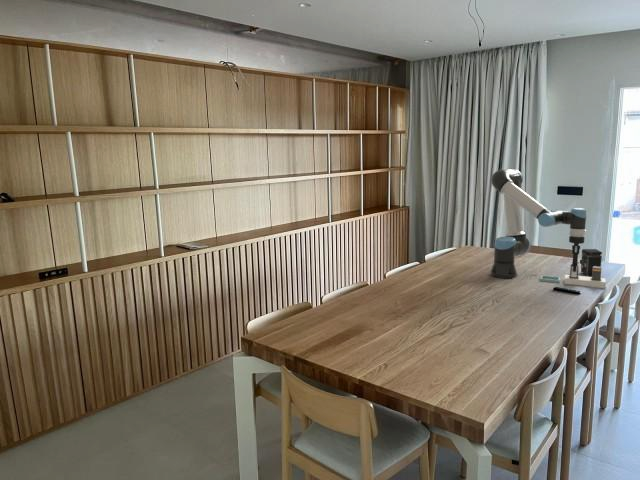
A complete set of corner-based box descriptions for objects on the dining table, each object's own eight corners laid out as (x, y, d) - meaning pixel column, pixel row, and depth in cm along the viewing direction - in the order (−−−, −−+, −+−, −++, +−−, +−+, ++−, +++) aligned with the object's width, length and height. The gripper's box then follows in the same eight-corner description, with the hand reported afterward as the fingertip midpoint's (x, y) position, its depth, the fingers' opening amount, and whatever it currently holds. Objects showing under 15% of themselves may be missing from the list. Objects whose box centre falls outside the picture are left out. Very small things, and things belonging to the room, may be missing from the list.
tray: (540, 281, 273) (540, 278, 272) (541, 278, 279) (541, 275, 279) (559, 283, 268) (559, 280, 267) (560, 280, 275) (560, 277, 274)
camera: (593, 271, 291) (595, 248, 288) (602, 276, 281) (604, 251, 278) (576, 271, 292) (578, 248, 289) (584, 276, 282) (586, 251, 279)
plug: (569, 282, 267) (570, 265, 265) (569, 280, 270) (570, 264, 268) (577, 283, 265) (578, 266, 263) (577, 281, 269) (578, 264, 266)
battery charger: (564, 284, 266) (565, 266, 264) (564, 280, 274) (566, 263, 272) (605, 288, 257) (606, 269, 255) (604, 284, 264) (606, 266, 262)
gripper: (584, 238, 253) (581, 280, 258) (584, 233, 269) (581, 272, 273) (569, 238, 257) (566, 279, 261) (569, 232, 272) (567, 271, 277)
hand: (573, 275), depth 267 cm, fingers open, 5 cm apart
